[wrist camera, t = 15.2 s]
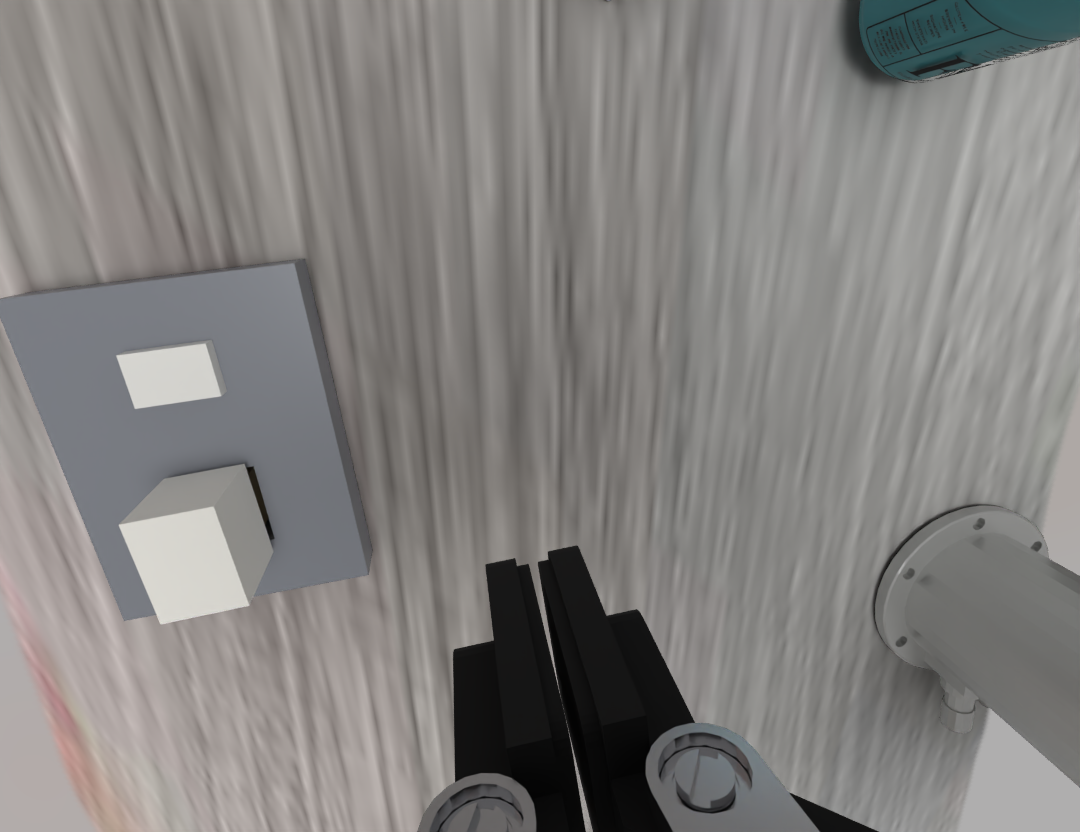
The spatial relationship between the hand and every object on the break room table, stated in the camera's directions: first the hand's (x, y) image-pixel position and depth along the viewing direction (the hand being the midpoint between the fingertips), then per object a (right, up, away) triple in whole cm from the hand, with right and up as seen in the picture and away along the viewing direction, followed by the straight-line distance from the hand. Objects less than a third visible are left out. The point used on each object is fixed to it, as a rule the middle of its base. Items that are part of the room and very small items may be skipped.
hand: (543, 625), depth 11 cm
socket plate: (-16, +3, +20) cm, 26 cm away
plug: (-16, 0, +21) cm, 26 cm away
